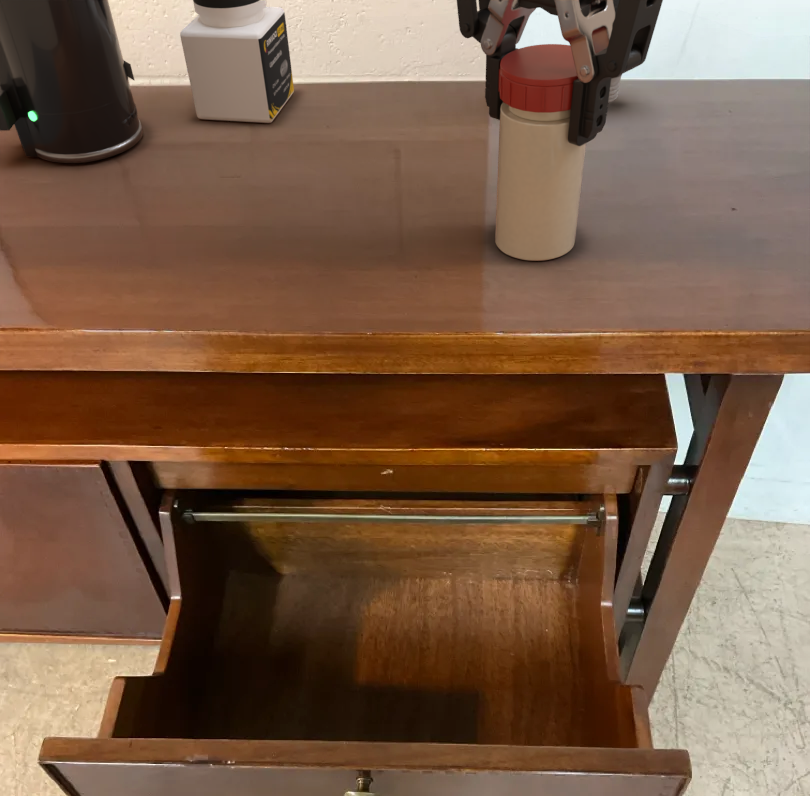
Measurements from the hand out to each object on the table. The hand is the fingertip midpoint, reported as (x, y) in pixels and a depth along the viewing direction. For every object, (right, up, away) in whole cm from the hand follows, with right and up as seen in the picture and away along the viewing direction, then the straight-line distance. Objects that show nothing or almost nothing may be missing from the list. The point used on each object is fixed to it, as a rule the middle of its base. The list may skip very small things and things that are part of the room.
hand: (541, 126), depth 53 cm
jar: (0, -5, +6) cm, 8 cm away
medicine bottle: (-23, +13, +24) cm, 36 cm away
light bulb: (+9, +12, +21) cm, 26 cm away
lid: (0, +2, -3) cm, 3 cm away
